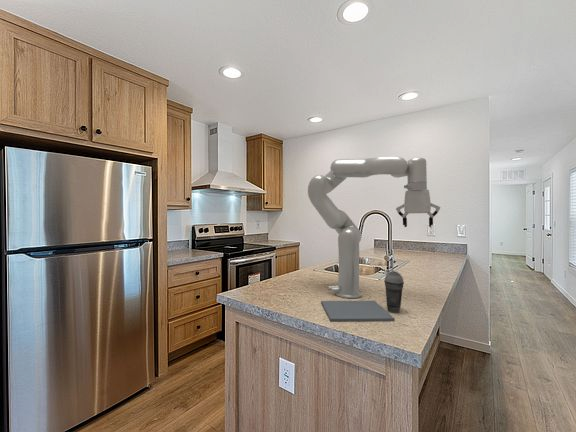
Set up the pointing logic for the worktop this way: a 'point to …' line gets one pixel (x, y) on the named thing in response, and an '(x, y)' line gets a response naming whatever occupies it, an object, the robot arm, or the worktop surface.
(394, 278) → the beverage cup
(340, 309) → the rubber mat
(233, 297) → the worktop surface
